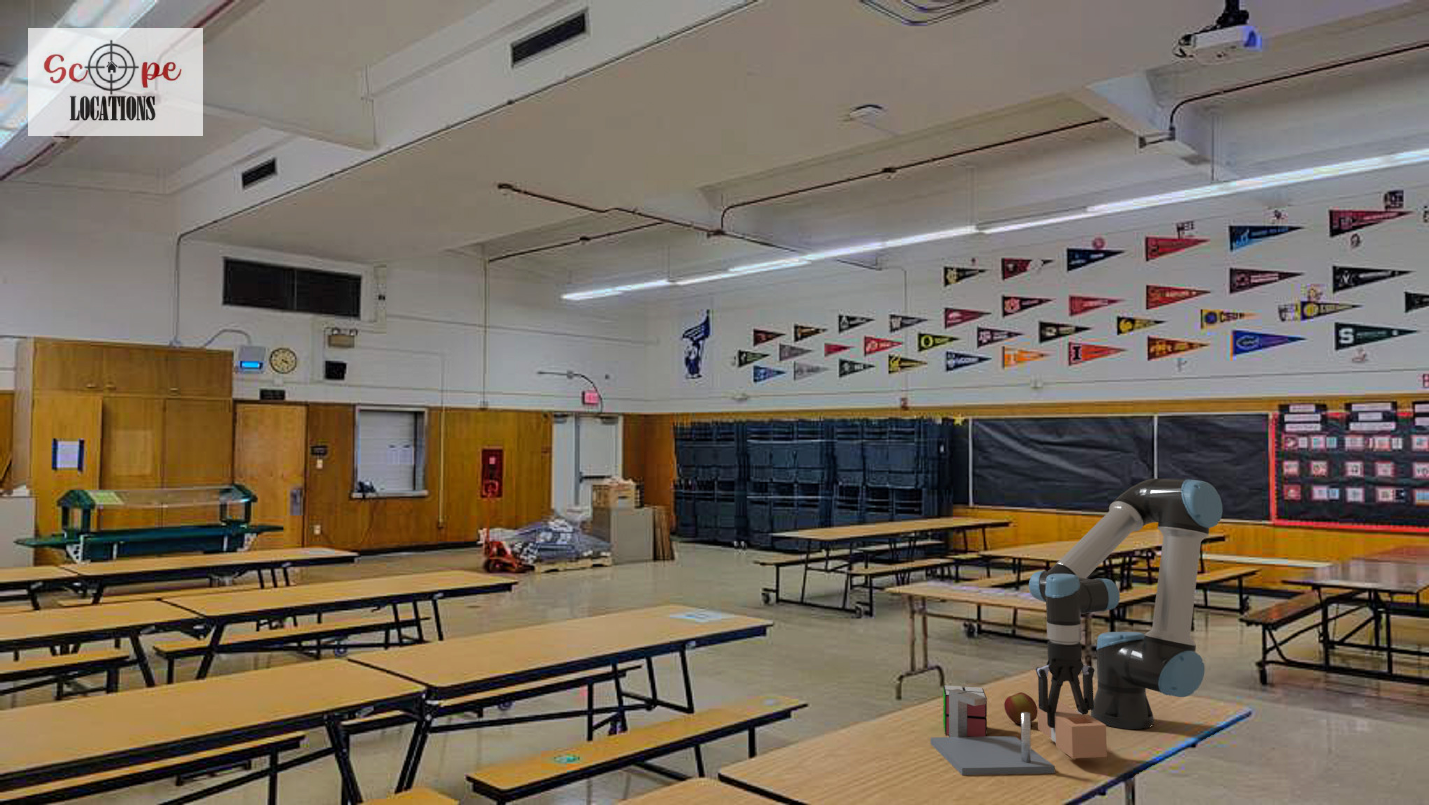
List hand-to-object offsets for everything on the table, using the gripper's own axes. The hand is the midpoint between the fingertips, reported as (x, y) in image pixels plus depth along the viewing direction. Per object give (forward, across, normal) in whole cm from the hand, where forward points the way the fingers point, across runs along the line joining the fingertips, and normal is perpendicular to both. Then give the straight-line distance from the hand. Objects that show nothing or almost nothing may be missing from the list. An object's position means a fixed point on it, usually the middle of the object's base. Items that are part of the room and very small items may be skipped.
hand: (1067, 740), depth 211 cm
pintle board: (+2, +20, +2) cm, 20 cm away
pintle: (+2, +14, +9) cm, 17 cm away
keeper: (+2, +21, -7) cm, 23 cm away
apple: (+3, +1, -23) cm, 23 cm away
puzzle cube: (+3, +18, -18) cm, 26 cm away
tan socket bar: (0, 0, 0) cm, 0 cm away
